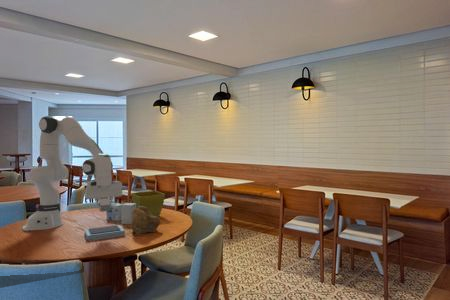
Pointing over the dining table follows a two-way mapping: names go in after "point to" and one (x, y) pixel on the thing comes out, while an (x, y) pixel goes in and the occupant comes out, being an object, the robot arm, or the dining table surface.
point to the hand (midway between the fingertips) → (104, 205)
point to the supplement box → (127, 212)
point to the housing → (104, 204)
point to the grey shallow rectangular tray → (104, 232)
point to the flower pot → (149, 201)
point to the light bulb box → (114, 212)
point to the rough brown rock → (143, 221)
